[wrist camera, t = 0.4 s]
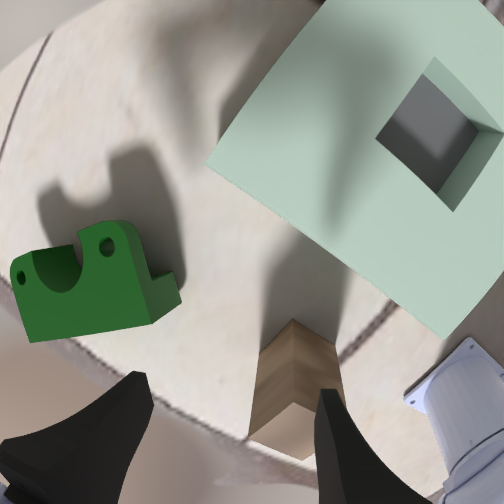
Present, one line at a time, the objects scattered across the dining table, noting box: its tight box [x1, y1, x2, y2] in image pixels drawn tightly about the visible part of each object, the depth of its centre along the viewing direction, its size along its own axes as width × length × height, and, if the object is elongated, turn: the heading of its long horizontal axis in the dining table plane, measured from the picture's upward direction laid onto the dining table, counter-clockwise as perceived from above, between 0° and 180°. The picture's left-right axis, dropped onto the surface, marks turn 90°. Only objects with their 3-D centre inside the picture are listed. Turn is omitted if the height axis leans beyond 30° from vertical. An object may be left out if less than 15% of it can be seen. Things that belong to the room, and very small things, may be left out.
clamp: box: [10, 220, 182, 343], centre depth 20 cm, size 12×6×9 cm, turn 102°
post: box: [248, 319, 347, 461], centre depth 19 cm, size 4×4×8 cm
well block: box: [204, 0, 504, 341], centre depth 15 cm, size 18×18×4 cm
